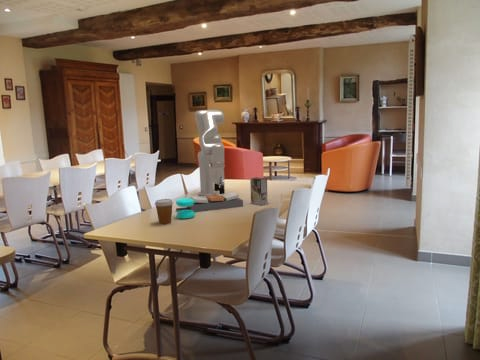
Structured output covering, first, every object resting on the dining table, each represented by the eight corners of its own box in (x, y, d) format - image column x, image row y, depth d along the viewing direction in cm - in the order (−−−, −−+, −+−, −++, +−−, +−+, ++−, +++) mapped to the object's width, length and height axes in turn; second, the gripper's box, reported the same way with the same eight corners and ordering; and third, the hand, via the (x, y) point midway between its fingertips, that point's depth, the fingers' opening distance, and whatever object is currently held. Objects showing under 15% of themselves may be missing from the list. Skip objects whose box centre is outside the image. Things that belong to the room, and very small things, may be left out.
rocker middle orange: (205, 198, 248) (206, 195, 248) (218, 197, 251) (218, 194, 250) (211, 201, 238) (211, 198, 238) (223, 200, 241) (223, 197, 241)
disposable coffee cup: (158, 220, 217) (157, 199, 215) (175, 220, 217) (174, 198, 215) (154, 225, 208) (152, 202, 206) (172, 225, 208) (170, 202, 206)
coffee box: (268, 203, 251) (267, 178, 248) (261, 205, 246) (261, 179, 244) (257, 201, 257) (256, 177, 254) (250, 203, 252) (249, 178, 250)
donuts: (181, 197, 228) (197, 198, 225) (182, 214, 230) (197, 215, 226) (172, 200, 219) (188, 201, 216) (173, 218, 221) (189, 219, 217)
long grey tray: (174, 209, 243) (173, 202, 242) (235, 202, 257) (235, 195, 256) (178, 214, 231) (178, 206, 230) (243, 206, 245) (242, 198, 244)
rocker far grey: (221, 197, 252) (220, 195, 251) (232, 194, 254) (232, 191, 254) (226, 200, 242) (226, 198, 242) (238, 197, 245) (238, 194, 244)
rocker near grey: (190, 199, 244) (190, 196, 244) (202, 199, 247) (203, 197, 247) (194, 202, 235) (195, 199, 234) (207, 203, 238) (208, 200, 237)
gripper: (208, 163, 249) (209, 190, 252) (217, 167, 233) (218, 195, 236) (219, 162, 252) (220, 189, 255) (229, 166, 236) (229, 194, 239)
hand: (219, 192), depth 246 cm, fingers open, 9 cm apart
